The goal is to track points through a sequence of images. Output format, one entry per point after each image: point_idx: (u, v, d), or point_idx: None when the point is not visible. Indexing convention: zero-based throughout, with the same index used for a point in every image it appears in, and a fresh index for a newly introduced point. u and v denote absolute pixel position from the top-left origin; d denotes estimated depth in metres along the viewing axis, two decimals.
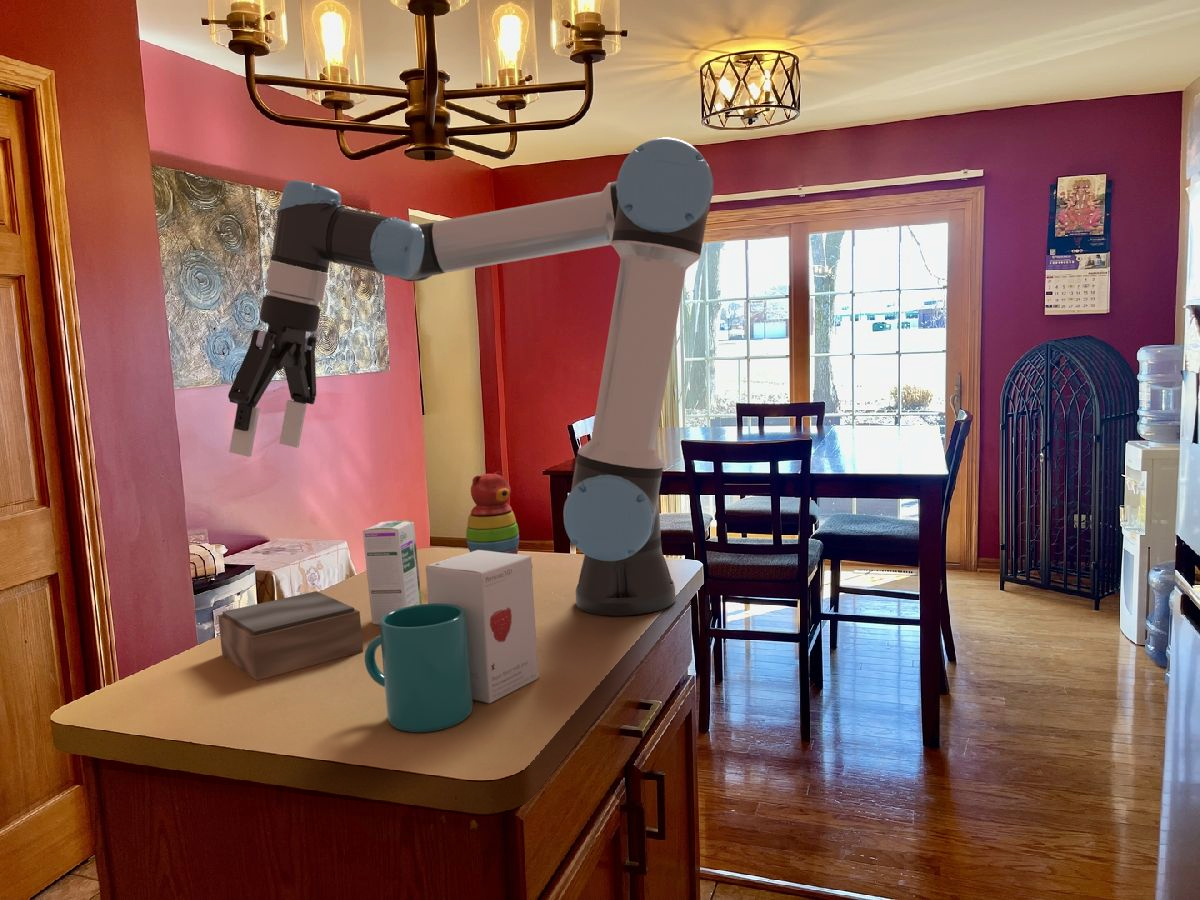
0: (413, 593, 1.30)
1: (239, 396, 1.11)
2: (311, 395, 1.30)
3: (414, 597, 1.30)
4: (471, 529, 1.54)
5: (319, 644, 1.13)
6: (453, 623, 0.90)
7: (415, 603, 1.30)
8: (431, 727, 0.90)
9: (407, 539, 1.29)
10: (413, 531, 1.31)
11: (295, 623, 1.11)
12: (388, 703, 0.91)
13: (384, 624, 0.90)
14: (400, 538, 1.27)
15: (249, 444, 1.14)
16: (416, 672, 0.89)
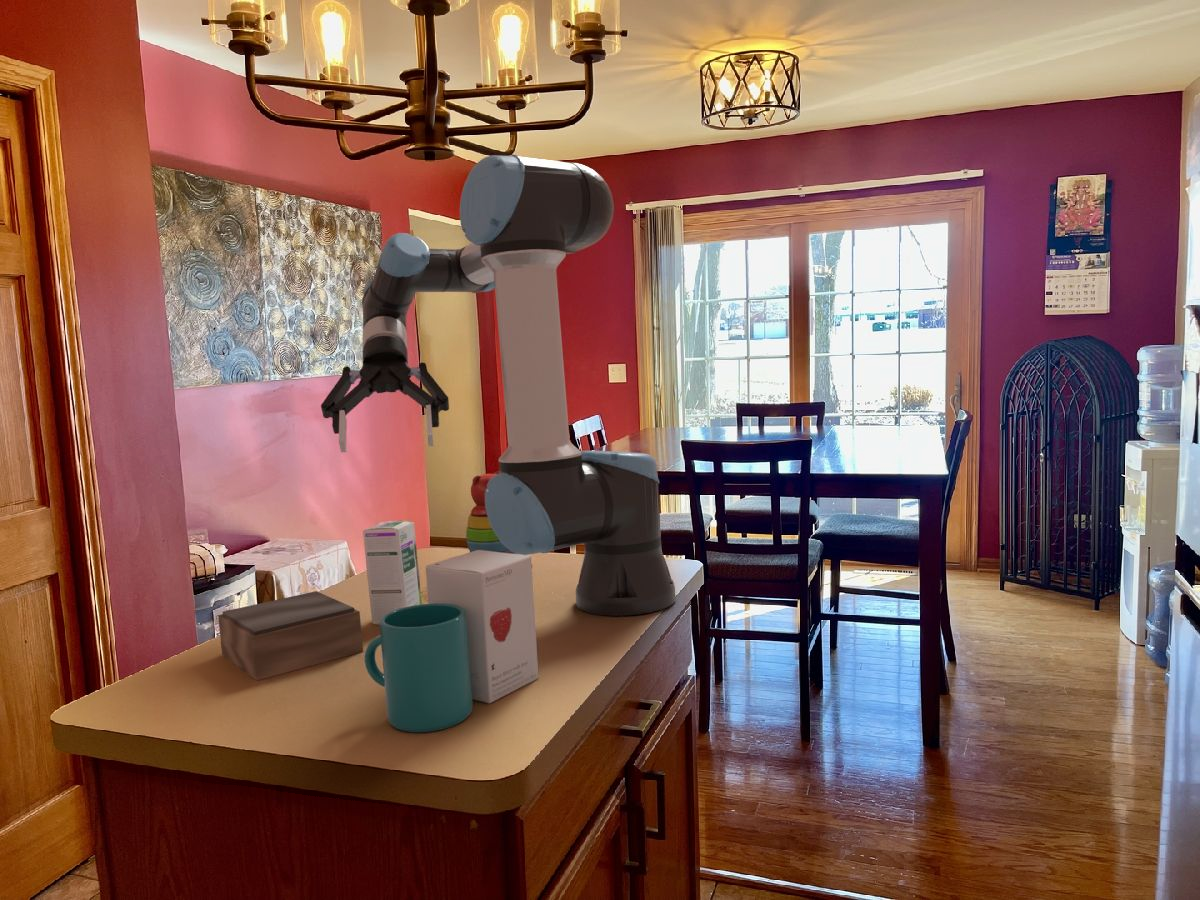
0: (413, 593, 1.30)
1: None
2: (441, 400, 1.44)
3: (414, 597, 1.30)
4: (471, 529, 1.54)
5: (319, 644, 1.13)
6: (453, 623, 0.90)
7: (415, 603, 1.30)
8: (431, 727, 0.90)
9: (407, 539, 1.29)
10: (413, 531, 1.31)
11: (295, 623, 1.11)
12: (388, 703, 0.91)
13: (384, 624, 0.90)
14: (400, 538, 1.27)
15: (339, 434, 1.37)
16: (416, 672, 0.89)
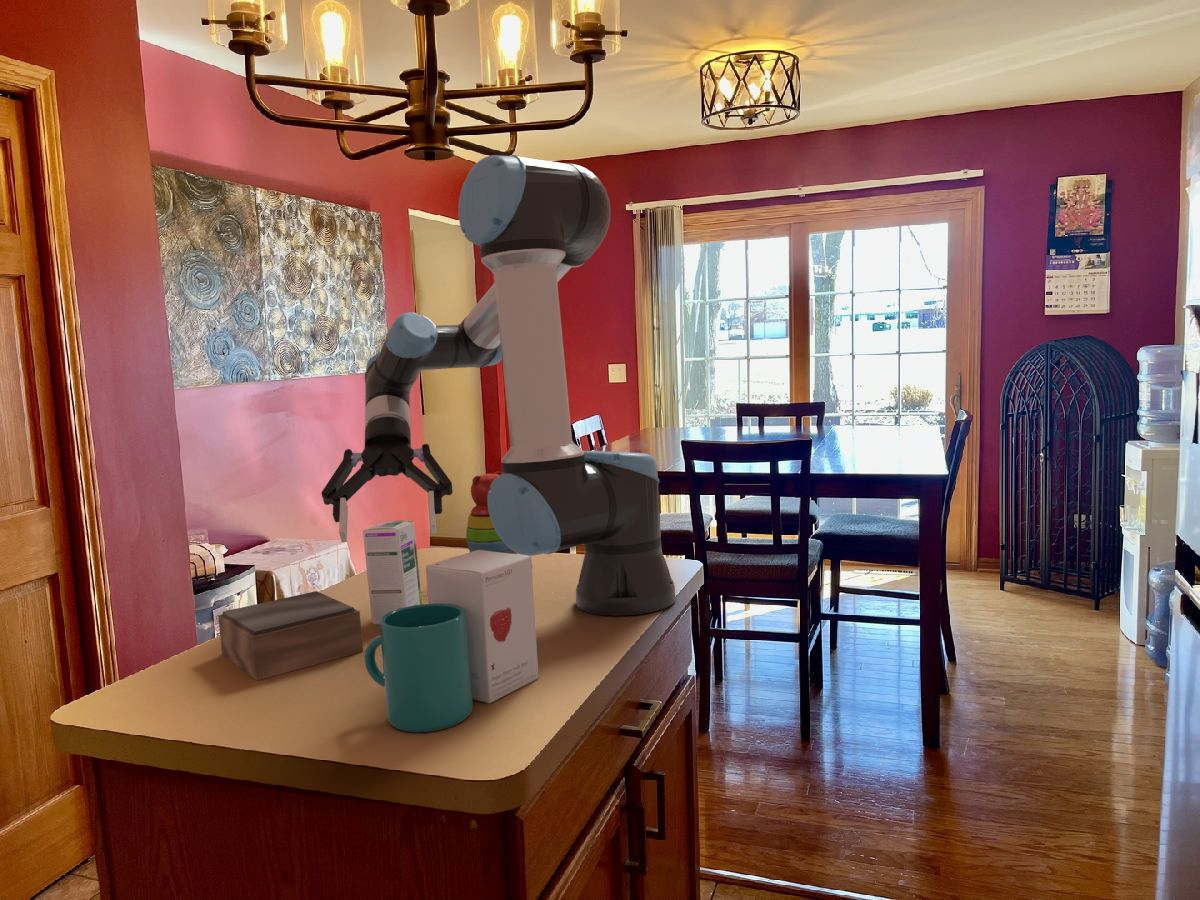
0: (413, 593, 1.30)
1: None
2: (444, 485, 1.40)
3: (414, 597, 1.30)
4: (471, 529, 1.54)
5: (319, 644, 1.13)
6: (453, 623, 0.90)
7: (415, 603, 1.30)
8: (431, 727, 0.90)
9: (407, 539, 1.29)
10: (413, 531, 1.31)
11: (295, 623, 1.11)
12: (388, 703, 0.91)
13: (384, 624, 0.90)
14: (400, 538, 1.27)
15: (340, 524, 1.34)
16: (416, 672, 0.89)
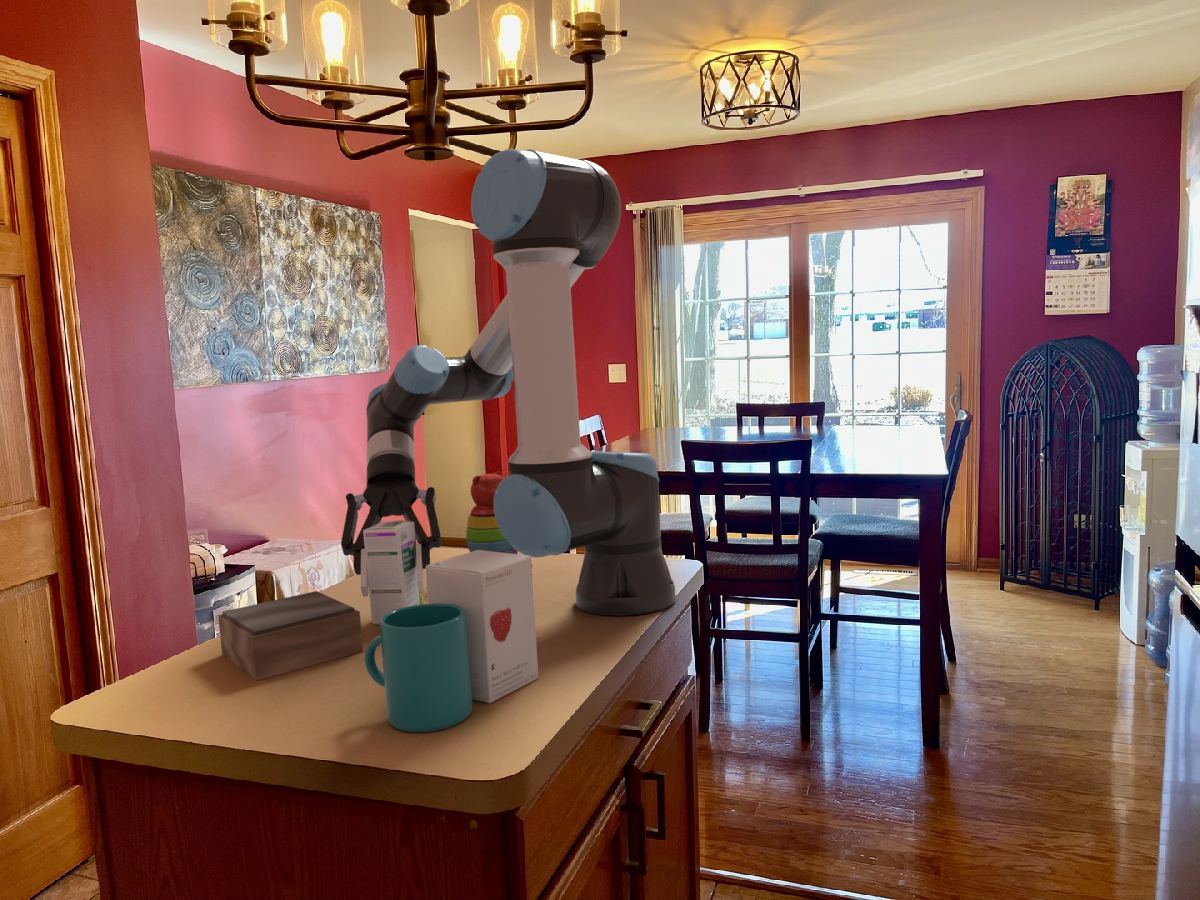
0: (413, 593, 1.30)
1: (342, 547, 1.30)
2: (432, 536, 1.32)
3: (414, 597, 1.30)
4: (471, 529, 1.54)
5: (319, 644, 1.13)
6: (453, 623, 0.90)
7: (415, 603, 1.30)
8: (431, 727, 0.90)
9: (407, 539, 1.29)
10: (413, 531, 1.31)
11: (295, 623, 1.11)
12: (388, 703, 0.91)
13: (384, 624, 0.90)
14: (401, 538, 1.27)
15: (361, 578, 1.26)
16: (416, 672, 0.89)
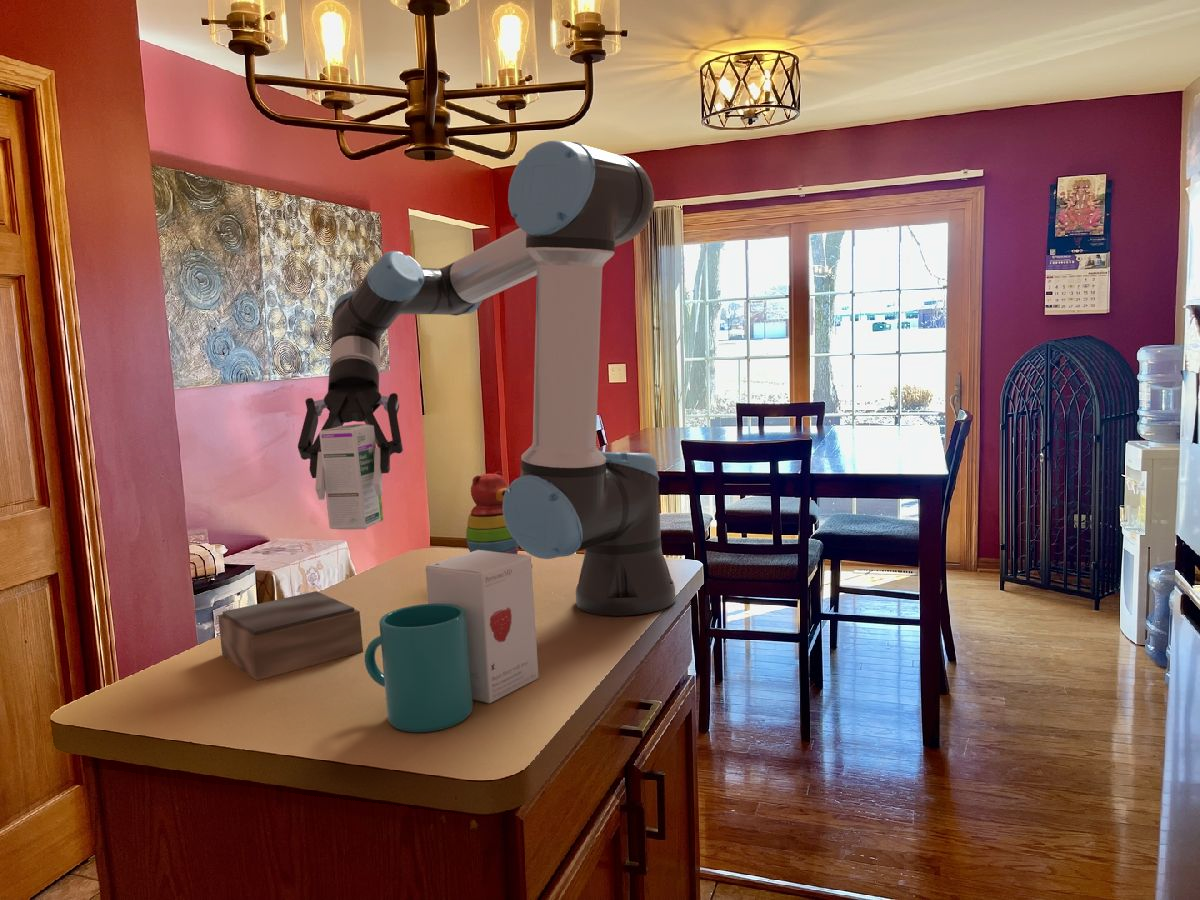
0: (372, 497, 1.26)
1: (299, 450, 1.26)
2: (392, 440, 1.27)
3: (373, 502, 1.26)
4: (471, 529, 1.54)
5: (319, 644, 1.13)
6: (453, 623, 0.90)
7: (374, 509, 1.26)
8: (431, 727, 0.90)
9: (365, 442, 1.25)
10: (373, 435, 1.27)
11: (295, 623, 1.11)
12: (388, 703, 0.91)
13: (384, 624, 0.90)
14: (357, 439, 1.23)
15: None
16: (416, 672, 0.89)
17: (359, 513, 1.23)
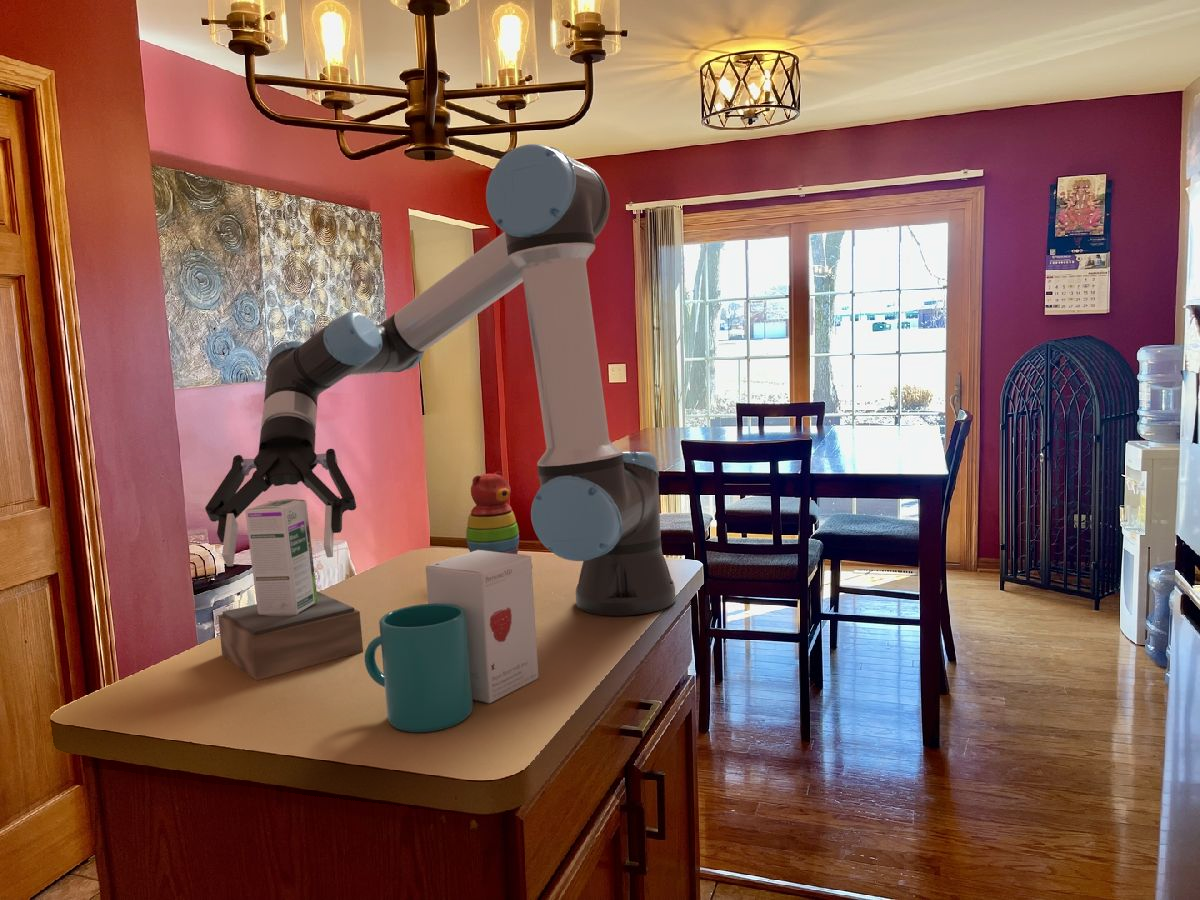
0: (304, 579, 1.16)
1: None
2: (345, 498, 1.19)
3: (306, 584, 1.17)
4: (471, 529, 1.54)
5: (319, 644, 1.13)
6: (453, 623, 0.90)
7: (307, 591, 1.17)
8: (431, 727, 0.90)
9: (297, 520, 1.15)
10: (305, 511, 1.17)
11: (295, 623, 1.11)
12: (388, 703, 0.91)
13: (384, 624, 0.90)
14: (288, 518, 1.13)
15: None
16: (416, 672, 0.89)
17: (290, 598, 1.14)
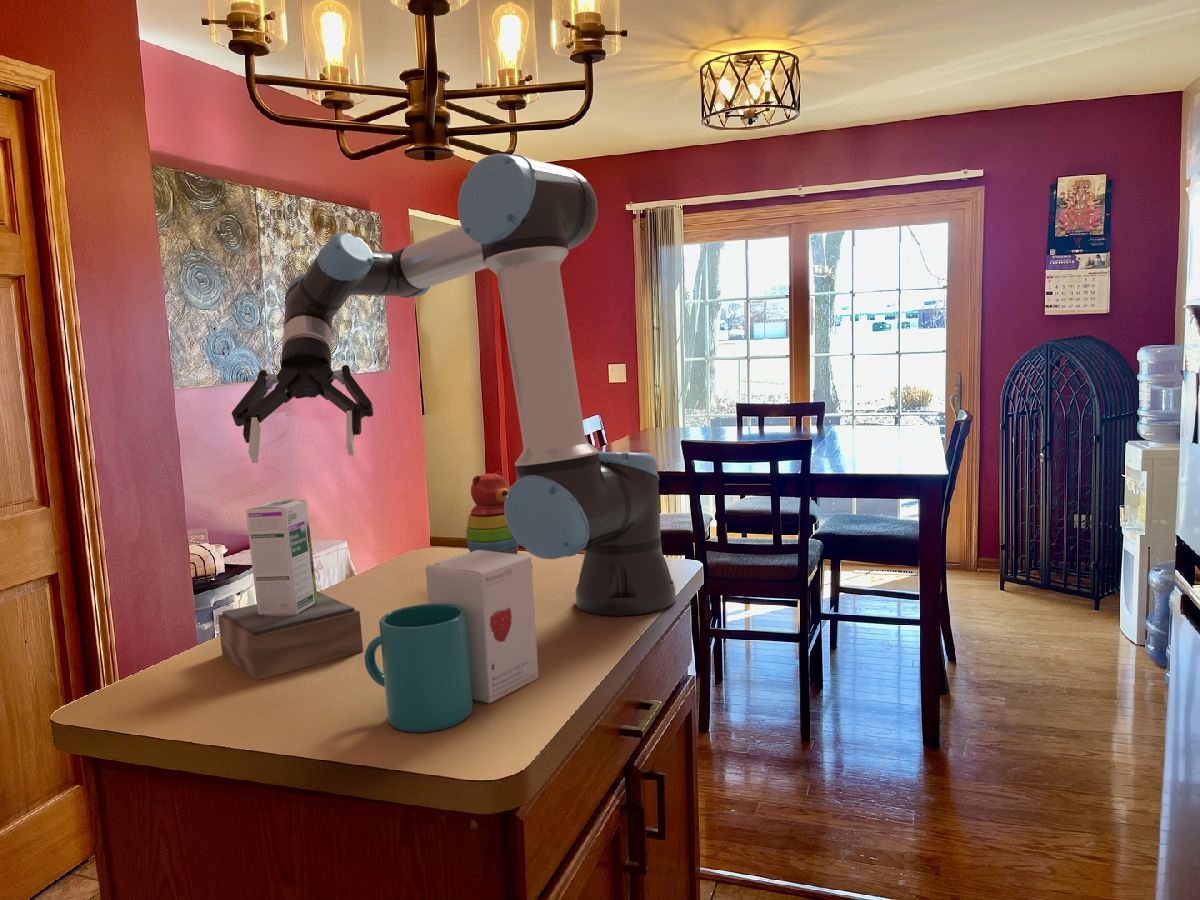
0: (304, 580, 1.16)
1: None
2: (363, 405, 1.33)
3: (306, 585, 1.17)
4: (471, 529, 1.54)
5: (319, 644, 1.13)
6: (453, 623, 0.90)
7: (307, 591, 1.17)
8: (431, 727, 0.90)
9: (297, 520, 1.15)
10: (306, 511, 1.18)
11: (295, 623, 1.11)
12: (388, 703, 0.91)
13: (384, 624, 0.90)
14: (288, 518, 1.13)
15: None
16: (416, 672, 0.89)
17: (290, 597, 1.14)
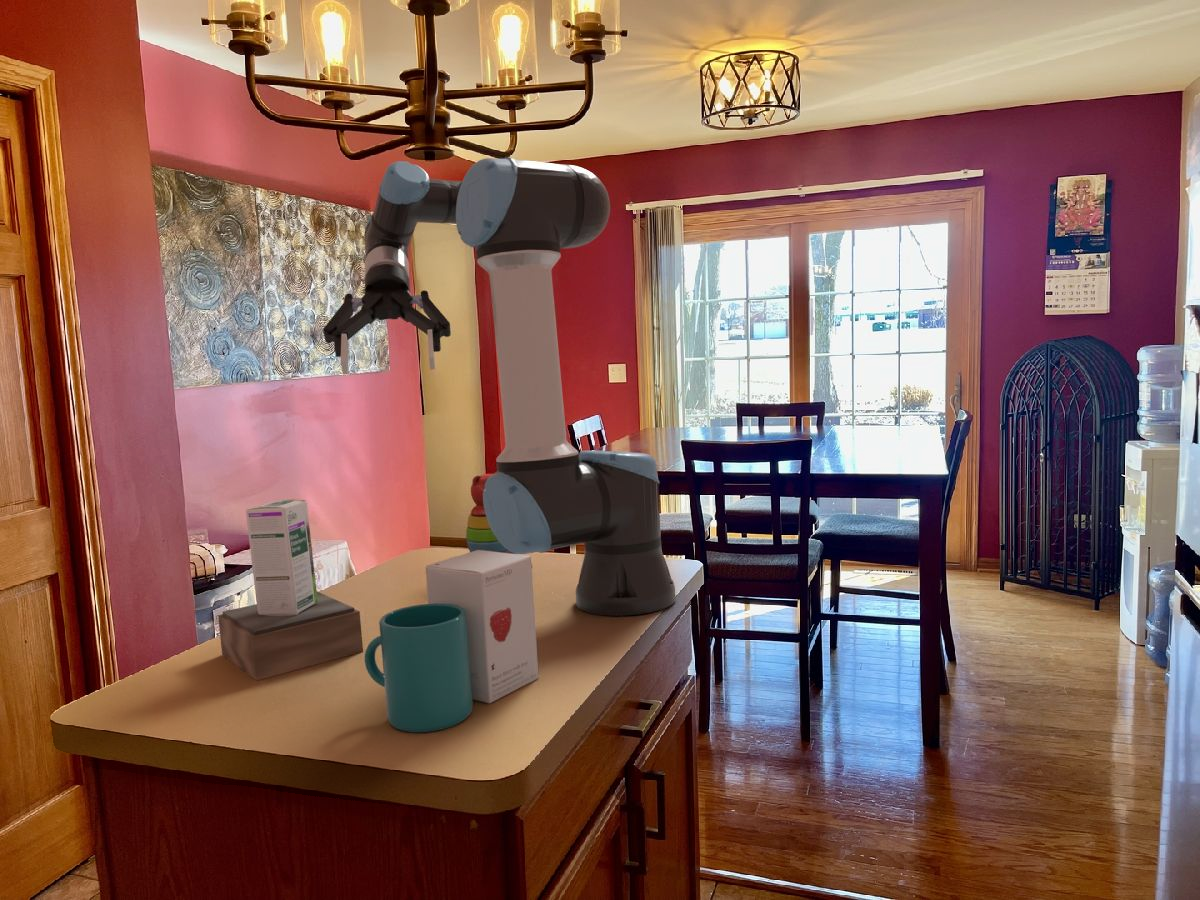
0: (304, 580, 1.16)
1: None
2: (442, 325, 1.44)
3: (306, 585, 1.17)
4: (471, 529, 1.54)
5: (319, 644, 1.13)
6: (453, 623, 0.90)
7: (307, 591, 1.17)
8: (431, 727, 0.90)
9: (297, 520, 1.15)
10: (306, 511, 1.18)
11: (295, 623, 1.11)
12: (388, 703, 0.91)
13: (384, 624, 0.90)
14: (288, 518, 1.13)
15: None
16: (416, 672, 0.89)
17: (290, 597, 1.14)
